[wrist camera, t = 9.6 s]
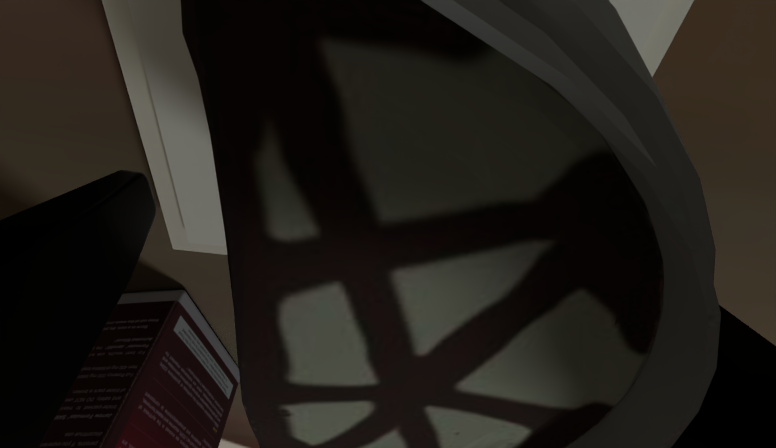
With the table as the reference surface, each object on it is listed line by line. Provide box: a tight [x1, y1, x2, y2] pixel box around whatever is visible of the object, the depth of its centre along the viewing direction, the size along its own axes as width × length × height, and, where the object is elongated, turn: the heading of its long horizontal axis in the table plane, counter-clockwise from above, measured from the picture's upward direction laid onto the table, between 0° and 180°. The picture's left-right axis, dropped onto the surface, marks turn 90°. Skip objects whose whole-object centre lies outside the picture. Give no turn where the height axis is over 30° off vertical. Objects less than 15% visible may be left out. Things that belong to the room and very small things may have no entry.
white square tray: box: [102, 0, 694, 255], centre depth 14 cm, size 16×16×2 cm
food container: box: [181, 0, 721, 448], centre depth 9 cm, size 12×6×10 cm, turn 173°
